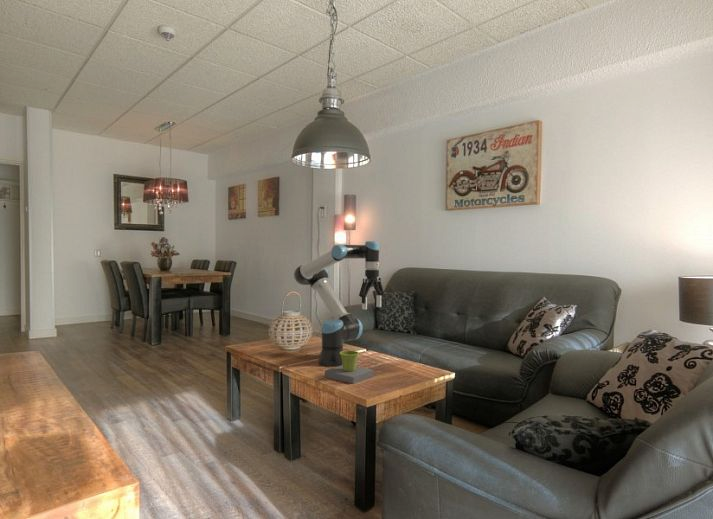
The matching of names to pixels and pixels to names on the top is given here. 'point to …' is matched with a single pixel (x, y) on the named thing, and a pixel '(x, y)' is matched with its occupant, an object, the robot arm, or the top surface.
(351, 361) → the plant pot
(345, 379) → the board
